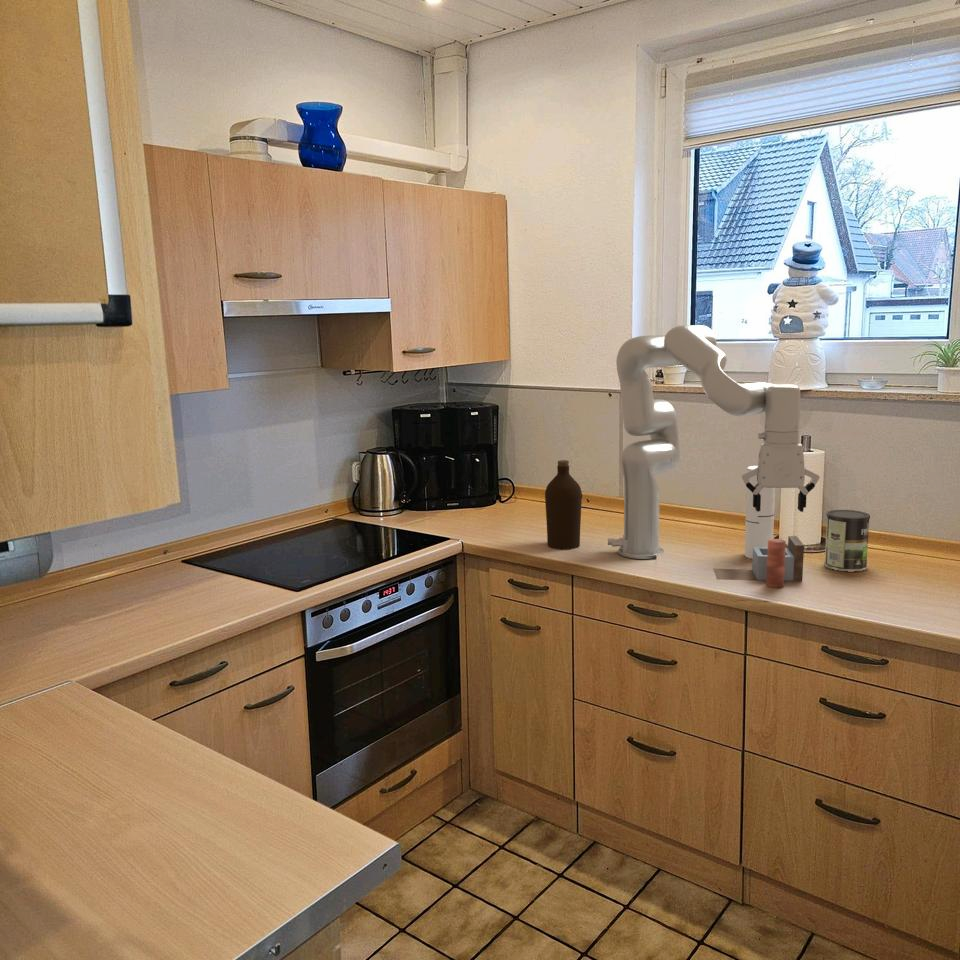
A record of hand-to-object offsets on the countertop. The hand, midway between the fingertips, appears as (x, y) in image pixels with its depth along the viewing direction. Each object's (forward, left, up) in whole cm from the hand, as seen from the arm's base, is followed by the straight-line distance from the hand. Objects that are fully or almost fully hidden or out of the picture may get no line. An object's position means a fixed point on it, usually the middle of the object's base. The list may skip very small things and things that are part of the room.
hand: (779, 510), depth 200 cm
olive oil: (-53, +37, -20) cm, 67 cm away
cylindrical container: (0, +27, -20) cm, 33 cm away
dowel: (0, 0, -20) cm, 20 cm away
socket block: (+1, +9, -19) cm, 20 cm away
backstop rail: (-3, +9, -20) cm, 22 cm away
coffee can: (+21, +22, -20) cm, 36 cm away
